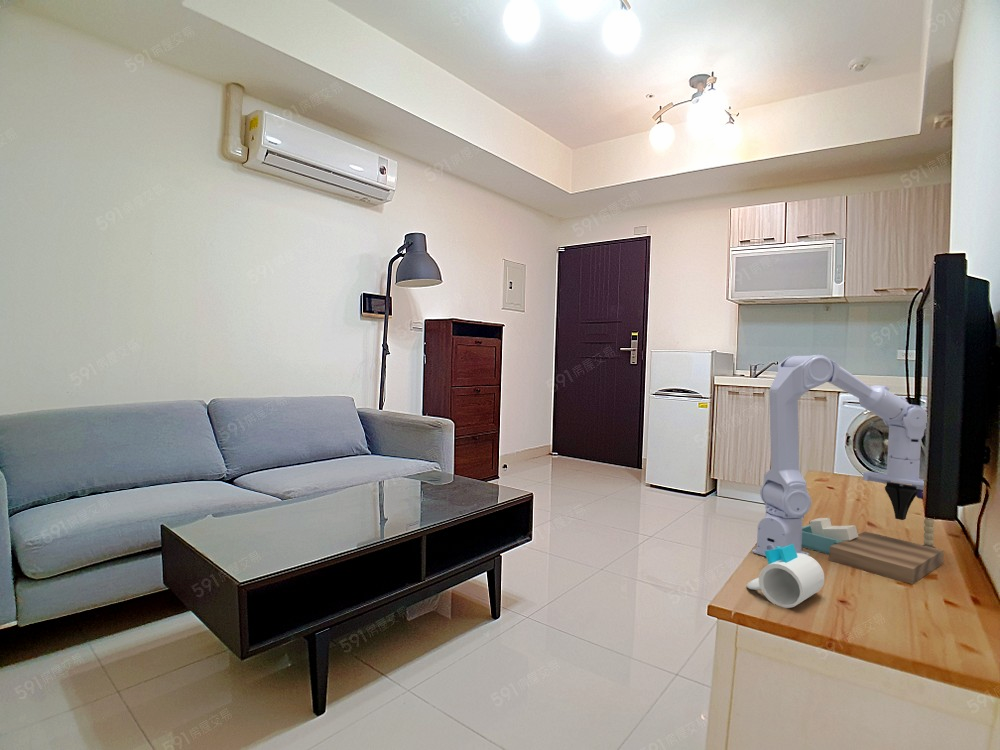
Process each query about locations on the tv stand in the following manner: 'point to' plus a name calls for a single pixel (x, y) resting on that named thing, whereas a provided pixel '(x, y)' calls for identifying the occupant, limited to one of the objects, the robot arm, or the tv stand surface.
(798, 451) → the robot arm
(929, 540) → the toy lamp
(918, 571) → the walnut board
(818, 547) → the box
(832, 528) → the tile
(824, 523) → the tile
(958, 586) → the tv stand surface
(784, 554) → the mug
